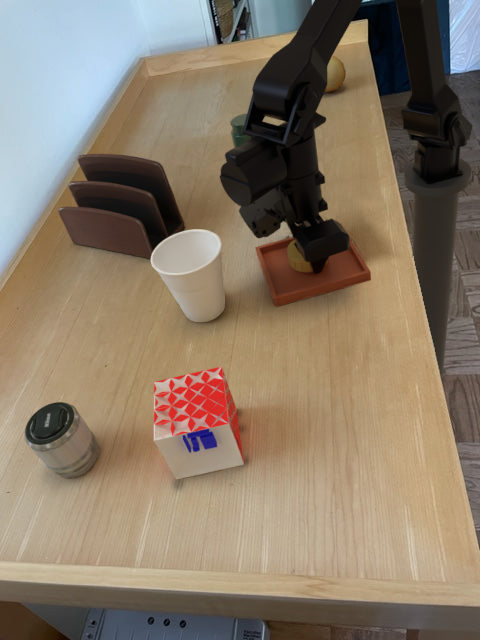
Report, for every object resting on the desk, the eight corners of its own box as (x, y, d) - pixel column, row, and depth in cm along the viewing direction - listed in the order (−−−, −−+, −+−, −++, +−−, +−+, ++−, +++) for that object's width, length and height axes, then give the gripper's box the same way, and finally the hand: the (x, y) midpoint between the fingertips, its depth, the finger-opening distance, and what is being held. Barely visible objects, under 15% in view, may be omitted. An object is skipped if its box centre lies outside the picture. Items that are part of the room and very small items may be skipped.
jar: (264, 160, 108) (254, 109, 101) (270, 172, 104) (260, 120, 97) (237, 167, 108) (226, 117, 101) (242, 180, 104) (231, 129, 97)
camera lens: (102, 430, 67) (76, 391, 62) (100, 473, 62) (72, 436, 57) (54, 442, 67) (24, 405, 62) (48, 487, 62) (16, 450, 57)
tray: (341, 231, 86) (341, 223, 85) (371, 280, 77) (370, 271, 75) (256, 255, 86) (255, 247, 85) (275, 307, 77) (273, 298, 76)
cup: (162, 328, 78) (137, 270, 71) (190, 284, 84) (170, 226, 77) (222, 338, 74) (203, 278, 67) (248, 290, 80) (233, 230, 73)
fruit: (313, 87, 130) (309, 52, 124) (347, 82, 128) (345, 47, 122) (309, 100, 125) (305, 65, 119) (345, 96, 122) (343, 59, 117)
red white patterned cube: (236, 408, 65) (222, 366, 60) (244, 464, 59) (229, 423, 54) (173, 422, 65) (153, 382, 60) (175, 479, 60) (152, 440, 54)
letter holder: (105, 214, 106) (76, 148, 96) (186, 227, 96) (163, 155, 87) (72, 244, 100) (38, 177, 91) (155, 261, 91) (126, 188, 81)
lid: (281, 267, 80) (279, 255, 79) (301, 243, 84) (299, 231, 82) (317, 276, 77) (315, 264, 76) (336, 251, 80) (335, 239, 79)
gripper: (221, 158, 76) (243, 245, 87) (259, 222, 63) (279, 317, 73) (294, 134, 77) (307, 224, 88) (347, 193, 63) (354, 291, 74)
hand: (309, 261), depth 81 cm, fingers closed on lid, 6 cm apart
